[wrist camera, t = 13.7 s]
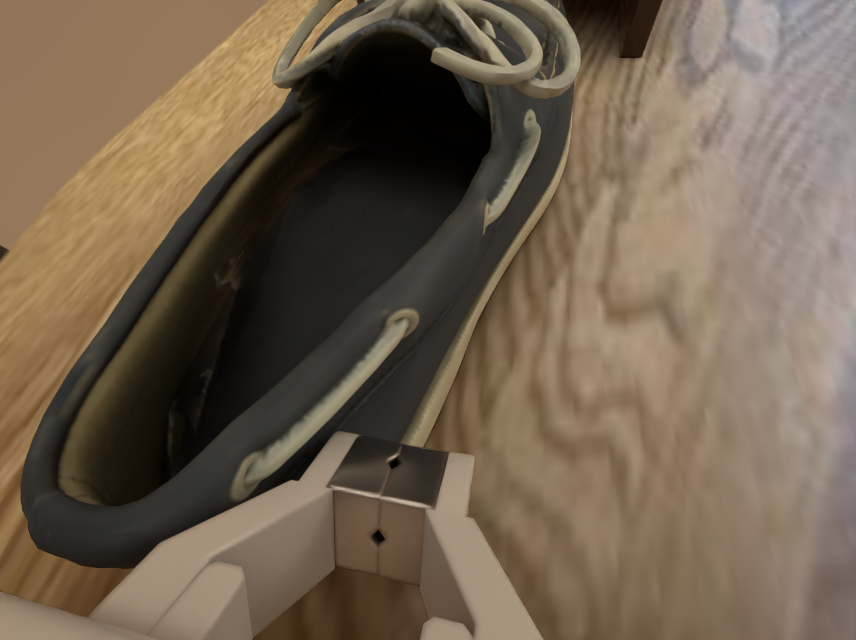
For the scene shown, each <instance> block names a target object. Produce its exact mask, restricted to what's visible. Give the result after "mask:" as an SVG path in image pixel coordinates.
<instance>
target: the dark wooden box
mask: <svg viewBox="0 0 856 640" xmlns="http://www.w3.org/2000/svg"><path fill="white" fill-rule="evenodd" d="M662 1H663V0H619V5H620V55H621V57H642V55H643V52H644V49H645V47H646V44H647V41H648V39H649V36H650V33H651V30H652V28H653V25H654V22H655V20H656V17H657V14H658V11H659V9H660V6H661V3H662ZM364 2H365V0H357V4H358V5H359V4H361V3H364Z"/></svg>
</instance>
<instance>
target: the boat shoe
mask: <svg viewBox="0 0 856 640" xmlns="http://www.w3.org/2000/svg"><path fill="white" fill-rule="evenodd" d="M340 1H341V0H320V1H319V2H318V3H317V4H316V5H315V6H314V7H313V8H312V9H311V11H310V12H309V13H308V15H307V16H306V17H305V19H304V20H303V21H302V23H301V24H300V25H299V27H298V28H297V30H296V31H295V33H294V34H293V36H292V37H291V39H290V40H289V42H288V43H287V45H286V47H285V49H284V51H283V52H282V54H281V56H280V58H279V60H278V61H277V63H276V66H275V68H274V71H273V75H272V82H273V84H275V85H276V86H277V87H279V88H285V89H288V88H292V90H291V91H290V93H289V94H288V96H287V98H286V100H285V103H284V104H283V106H282V107H281V109H280V110H279V111H278V112H277V113H276V114H275V115H274V116H273V117H272V118H271V119H270V120H269V121H268V122H267V123H265V124H264V125H263V126H262V127H261V128H260V129H259V130H258V131H257V132H256V133H255V134H254V135H252V136H251V137H250V138H249V139H248V140H247V141H246V142H245V143H244V144H243V145H242V146H241V147H240V148H239V149H238V150H237V151H236V152H235V153H234V154H233V155H232V156H231V157H230V158H229V159H228V161H227V162H226V163H225V164H224V165H223V166H222V167H221V168H220V169H219V170H218V171H217V173H216V174H215V175H214V176H213V177H212V178H211V179H210V180H209V181H208V182H207V184H206V185H205V186H204V187H203V188H202V190H201V191H200V192H199V194H198V195H197V197H196V198H195V199H194V201H193V202H192V204H191V205H190V206H189V207H188V208H187V209H186V210H185V212H184V213H183V214H182V215H181V216H180V217H179V218H178V219H177V221H176V222H175V224H174V225H173V227H172V228H171V230H170V231H169V233H168V234H167V236H166V237H165V239H164V240H163V241H162V243H161V244H160V245H159V247H158V248H157V249H156V251H155V252H154V253H153V255H152V256H151V257H150V259H149V260H148V261H147V263H146V264H145V266H144V267H143V268H142V270H141V271H140V273H139V274H138V275H137V277H136V278H135V279H134V281H133V282H132V284H131V285H130V286H129V288H128V289H127V291H126V292H125V294H124V295H123V297H122V298H121V300H120V301H119V303H118V304H117V306H116V307H115V309H114V310H113V312H112V313H111V315H110V316H109V318H108V319H107V321H106V322H105V324H104V325H103V327H102V328H101V329H100V331H99V332H98V333H97V335H96V336H95V337H94V339H93V340H92V341H91V343H90V344H89V345H88V347H87V348H86V350H85V351H84V352H83V354H82V355H81V356H80V358H79V359H78V360H77V362H76V363H75V365H74V366H73V368H72V369H71V370H70V372H69V373H68V375H67V376H66V378H65V380H64V381H63V383H62V385H61V386H60V388H59V390H58V391H57V393H56V395H55V396H54V398H53V400H52V401H51V403H50V405H49V407H48V408H47V410H46V412H45V413H44V415H43V417H42V420H41V422H40V424H39V426H38V429H37V431H36V433H35V435H34V437H33V440H32V443H31V446H30V448H29V451H28V454H27V457H26V460H25V464H24V469H23V474H22V478H21V504H22V510H23V512H24V515H25V517H26V519H27V521H28V530H29V534H30V537H31V539H32V540H33V542H34V543H35V545H36V547H37V548H38V549H40V550H43V551H45V552H47V553H50V554H52V555H55V556H58V557H61V558H65V559H67V560H69V561H72V562H74V563H76V564H79V565H81V566H88V567H95V568H122V569H129V568H135V567H136V566H137V565H138V564H139V563H140V562H141V561H142V560H143V559H144V558H145V557H146V556H147V555H148V554H149V553H150V552H151V551H152V550H153V549H154V548H155V547H156V546H157V545H158V544H159V543H160V542H162V541H165V540H167V539H169V538H171V537H173V536H175V535H177V534H179V533H181V532H183V531H185V530H188V529H190V528H192V527H194V526H196V525H198V524H200V523H202V522H204V521H206V520H208V519H211V518H213V517H215V516H217V515H219V514H221V513H223V512H225V511H227V510H229V509H232V508H234V507H236V506H238V505H240V504H242V503H244V502H246V501H248V500H250V499H252V498H255V497H257V496H259V495H261V494H263V493H265V492H267V491H269V490H271V489H273V488H275V487H278V486H280V485H282V484H284V483H286V482H288V481H290V480H294V481H299V480H300V478H301V477H302V475H303V474H304V473H305V471H306V470H307V469H308V467H309V466H310V465H311V463H312V462H313V460H314V459H315V458H316V456H317V455H318V454H319V452H320V451H321V449H322V448H323V447H324V445H325V444H326V443H327V441H328V440H329V439H330V437H331V436H332V434H333V433H335V432H337V431H343V432H348V433H353V434H358V435H364V436H369V437H374V438H379V439H383V440H388V441H393V442H398V443H403V444H406V445H412V446H417V447H423V446H424V444H425V442H426V440H427V438H428V436H429V434H430V432H431V430H432V428H433V426H434V424H435V422H436V419H437V417H438V415H439V413H440V411H441V408H442V406H443V404H444V402H445V399H446V397H447V395H448V393H449V391H450V388H451V386H452V384H453V382H454V379H455V377H456V374H457V372H458V369H459V367H460V364H461V361H462V359H463V356H464V354H465V351H466V348H467V346H468V343H469V341H470V338H471V336H472V333H473V331H474V328H475V326H476V323H477V321H478V318H479V316H480V315H481V313H482V311H483V309H484V307H485V305H486V303H487V301H488V300H489V298H490V296H491V294H492V292H493V290H494V289H495V287H496V285H497V283H498V282H499V280H500V278H501V277H502V275H503V273H504V272H505V270H506V268H507V267H508V265H509V264H510V262H511V260H512V259H513V257H514V256H515V254H516V253H517V251H518V250H519V248H520V247H521V245H522V244H523V242H524V241H525V240H526V238H527V237H528V235H529V234H530V232H531V231H532V229H533V228H534V226H535V225H536V223H537V222H538V220H539V219H540V217H541V216H542V214H543V213H544V211H545V209H546V208H547V206H548V205H549V203H550V201H551V199H552V197H553V195H554V193H555V191H556V189H557V187H558V185H559V182H560V179H561V177H562V174H563V171H564V168H565V165H566V161H567V156H568V152H569V145H570V137H571V129H572V104H573V91H574V79H575V77H576V75H577V73H578V71H579V69H580V48H579V43H578V41H577V38H576V36H575V33H574V31H573V30H572V28H571V27H570V25H569V23H568V21H567V16H566V12H565V9H564V6H563V2H562V0H365V2H364V3H361V4H359V5H357V6H356V7H354V8H353V9H351V10H349V11H348V12H346V13H344V14H343V15H341V16H339V17H338V18H337V19H336V20H335V21H334V22H333V23H332V24H331V25H330V26H329V27H328V28H327V29H326V30H325V31H324V32H323V33H322V35H321V36H320V37H319V38H318V40H317V41H316V43H315V45H314V46H313V48H312V50H311V51H310V53H309V55H308V56H306V57H305V58H304V59H302V60H301V61H299V62H298V63H297V64H295V65H293V66H291V67H289V66H290V64H291V63H292V61H293V59H294V58H295V56H296V55H297V53H298V51H299V50H300V48H301V46H302V45H303V43H304V42H305V40H306V39H307V38H308V36H309V35H310V34H311V32H312V31H313V29H314V28H315V26H316V25H317V24H318V23H319V22H320V21H321V20H322V19H323V18H324V16H325V15H326V14H327V13H328V12H329V11H330V10H331V9H332V8H333V7H334V6H335V5H336V4H337V3H338V2H340Z"/></svg>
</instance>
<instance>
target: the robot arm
mask: <svg viewBox="0 0 856 640" xmlns="http://www.w3.org/2000/svg"><path fill="white" fill-rule="evenodd" d="M474 461H475V457H474V455H469V454H463V453H456V452H445V451H439V450H434V449H428V448H423V447H417V446H412V445H406V444H403V443H398V442H393V441H388V440H383V439H379V438H374V437H369V436H364V435H358V434H353V433H348V432H343V431H337V432H335V433H333V434H332V436H331V437H330V439H329V440H328V441H327V443H326V444H325V445H324V447H323V448H322V449H321V451H320V452H319V454H318V455H317V456H316V458H315V459H314V460H313V462H312V463H311V465H310V466H309V467H308V469H307V470H306V471H305V473H304V474H303V475H302V477H301V478H300V480H299V481H294V480H290V481H288V482H286V483H284V484H282V485H280V486H278V487H275V488H273V489H271V490H269V491H267V492H265V493H263V494H261V495H259V496H257V497H255V498H252V499H250V500H248V501H246V502H244V503H242V504H240V505H238V506H236V507H234V508H232V509H229V510H227V511H225V512H223V513H221V514H219V515H217V516H215V517H213V518H211V519H208V520H206V521H204V522H202V523H200V524H198V525H196V526H194V527H192V528H190V529H188V530H185V531H183V532H181V533H179V534H177V535H175V536H173V537H171V538H169V539H167V540H165V541H162V542H160V543H159V544H158V545H157V546H156V547H155V548H154V549H153V550H152V551H151V552H150V553H149V554H148V555H147V556H146V557H145V558H144V559H143V560H142V561H141V562H140V563H139V564H138V565H137V566H136V567H135V568H134V569H133V570H132V571H131V572H130V573H129V574H128V575H127V576H126V577H125V578H124V579H123V580H122V581H121V582H120V583H119V584H118V585H117V586H116V587H115V588H114V589H113V590H112V591H111V592H110V593H109V594H108V595H107V596H106V597H105V598H104V599H103V600H102V601H101V602H100V603H99V604H98V605H97V606H96V608H95V609H94V610H93V611H92V612H91V613H90V614H89V615H88V616H87V617H83V616H80V615H76V614H73V613H70V612H67V611H63V610H60V609H57V608H53V607H50V606H47V605H44V604H40V603H37V602H34V601H30V600H27V599H24V598H21V597H17V596H14V595H11V594H7V593H4V592H1V591H0V640H253V638H254V637H255V636H257V635H258V634H259V633H260V632H261V631H263V630H264V629H265V628H266V627H267V626H268V625H270V624H271V623H272V622H273V621H274V620H275V619H277V618H278V617H279V616H280V615H281V614H283V613H284V612H285V611H286V610H287V609H288V608H290V607H291V606H292V605H293V604H294V603H295V602H297V601H298V600H299V599H300V598H301V597H303V596H304V595H305V594H306V593H307V592H308V591H310V590H311V589H312V588H313V587H314V586H315V585H317V584H318V583H319V582H320V581H321V580H323V579H324V578H325V577H326V576H327V575H328V574H330V573H331V572H332V571H333V570H334V569H335V566H337V567H342V568H346V569H351V570H356V571H361V572H365V573H370V574H375V575H379V576H382V577H386V578H390V579H393V580H397V581H400V582H404V583H408V584H411V585H415V586H418V587H420V592H421V595H422V599H423V602H424V606H425V609H426V613H427V616H428V621H427V622H425V623H424V624H423V628H422V632H421V637H420V640H543V638H542V636H541V634H540V633H539V631H538V629H537V628H536V626H535V624H534V622H533V621H532V619H531V617H530V615H529V614H528V612H527V610H526V608H525V607H524V605H523V603H522V601H521V600H520V598H519V596H518V595H517V593H516V591H515V589H514V588H513V586H512V584H511V582H510V581H509V579H508V577H507V575H506V574H505V572H504V570H503V569H502V567H501V565H500V563H499V562H498V560H497V558H496V556H495V555H494V553H493V551H492V549H491V548H490V546H489V544H488V542H487V541H486V539H485V537H484V536H483V534H482V532H481V530H480V529H479V527H478V525H477V523H476V522H475V520H474V518H470V517H468V511H469V503H470V495H471V486H472V478H473V470H474Z"/></svg>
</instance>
